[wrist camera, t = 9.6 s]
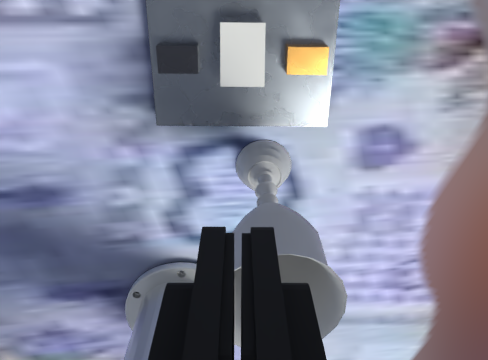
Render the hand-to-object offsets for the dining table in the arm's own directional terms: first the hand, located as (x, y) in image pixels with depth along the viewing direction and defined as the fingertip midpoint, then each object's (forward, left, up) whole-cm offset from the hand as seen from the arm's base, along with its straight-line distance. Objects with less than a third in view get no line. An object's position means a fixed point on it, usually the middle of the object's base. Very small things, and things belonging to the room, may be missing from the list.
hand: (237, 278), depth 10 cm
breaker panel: (+1, 0, -27) cm, 27 cm away
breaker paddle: (+1, 0, -25) cm, 25 cm away
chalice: (-9, -2, -27) cm, 29 cm away
